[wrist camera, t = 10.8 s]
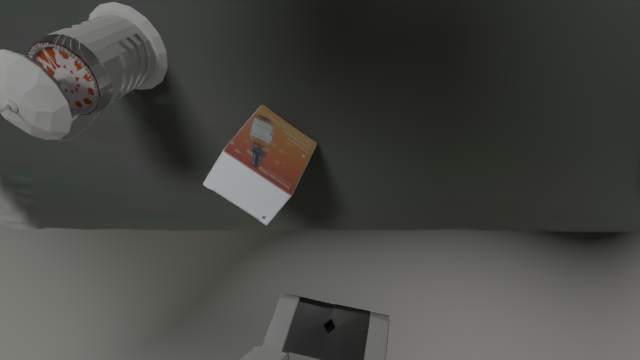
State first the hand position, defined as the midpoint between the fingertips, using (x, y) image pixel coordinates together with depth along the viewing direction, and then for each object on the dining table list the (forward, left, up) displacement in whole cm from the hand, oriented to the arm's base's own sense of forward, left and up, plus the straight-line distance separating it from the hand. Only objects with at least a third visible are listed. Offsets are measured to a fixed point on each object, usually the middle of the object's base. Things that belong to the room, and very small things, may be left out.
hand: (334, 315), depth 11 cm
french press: (+6, -30, -31) cm, 44 cm away
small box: (+14, -12, -31) cm, 36 cm away
